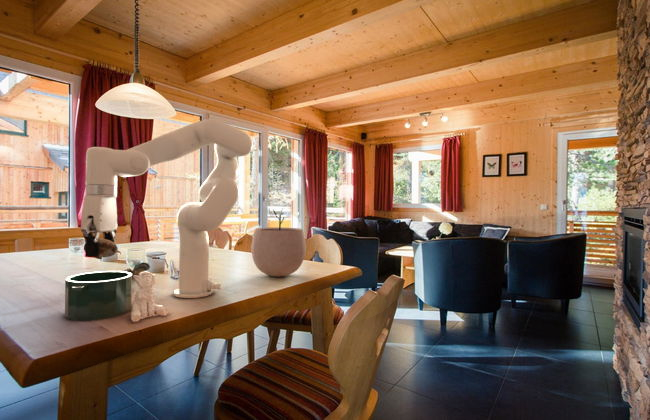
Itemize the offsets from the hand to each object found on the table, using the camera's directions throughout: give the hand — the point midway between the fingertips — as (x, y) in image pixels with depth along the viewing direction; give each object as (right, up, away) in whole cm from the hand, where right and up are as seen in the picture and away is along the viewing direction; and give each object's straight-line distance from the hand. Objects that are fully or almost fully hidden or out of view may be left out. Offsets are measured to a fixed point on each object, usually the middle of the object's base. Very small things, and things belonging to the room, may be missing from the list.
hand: (100, 254), depth 99 cm
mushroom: (0, -1, 0) cm, 1 cm away
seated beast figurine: (+14, -17, -2) cm, 22 cm away
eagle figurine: (-12, -16, +42) cm, 47 cm away
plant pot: (+43, -17, +56) cm, 73 cm away
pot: (0, -16, 0) cm, 16 cm away
